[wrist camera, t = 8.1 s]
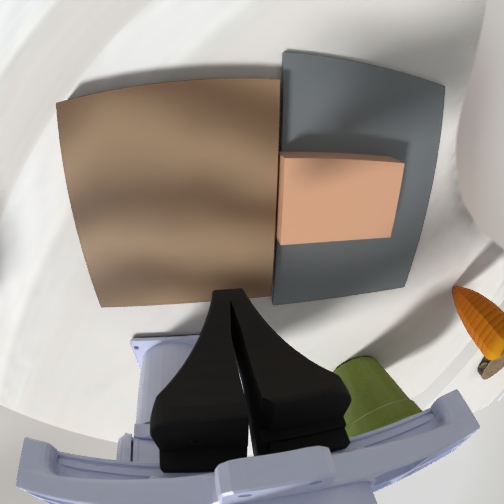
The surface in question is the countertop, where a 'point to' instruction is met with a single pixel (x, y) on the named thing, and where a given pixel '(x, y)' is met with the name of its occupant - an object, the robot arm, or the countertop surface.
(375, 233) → the terracotta tile
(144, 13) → the countertop surface
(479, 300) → the carrot
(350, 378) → the plant pot
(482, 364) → the round wood slice
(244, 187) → the walnut riser
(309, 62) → the charcoal mat
